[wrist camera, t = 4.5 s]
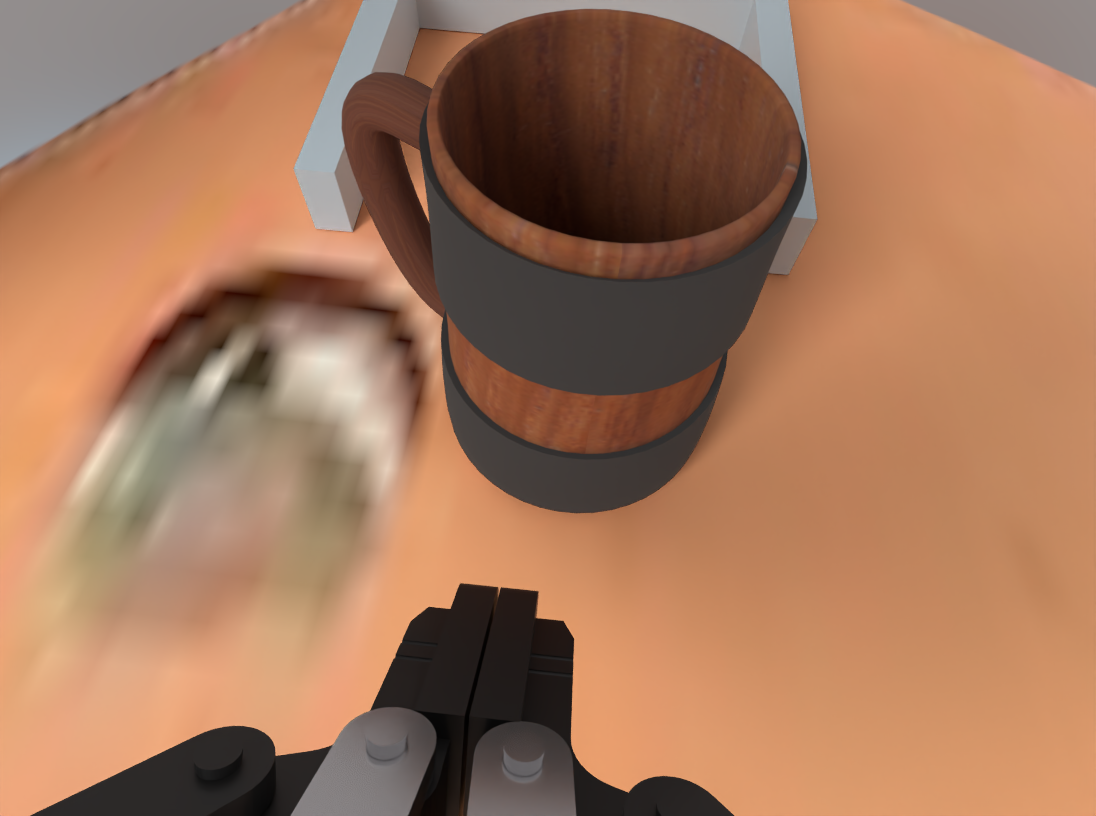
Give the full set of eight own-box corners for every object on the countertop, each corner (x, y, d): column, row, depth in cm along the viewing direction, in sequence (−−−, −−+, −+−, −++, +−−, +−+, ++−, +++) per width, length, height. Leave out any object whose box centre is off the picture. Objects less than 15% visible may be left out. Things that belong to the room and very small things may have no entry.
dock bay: (315, 228, 27) (293, 168, 24) (396, 8, 35) (386, -56, 32) (788, 274, 27) (817, 219, 24) (765, 41, 34) (785, -21, 32)
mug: (463, 238, 27) (428, -91, 17) (737, 373, 24) (890, 76, 14) (321, 393, 23) (165, 90, 13) (625, 574, 21) (724, 367, 10)
